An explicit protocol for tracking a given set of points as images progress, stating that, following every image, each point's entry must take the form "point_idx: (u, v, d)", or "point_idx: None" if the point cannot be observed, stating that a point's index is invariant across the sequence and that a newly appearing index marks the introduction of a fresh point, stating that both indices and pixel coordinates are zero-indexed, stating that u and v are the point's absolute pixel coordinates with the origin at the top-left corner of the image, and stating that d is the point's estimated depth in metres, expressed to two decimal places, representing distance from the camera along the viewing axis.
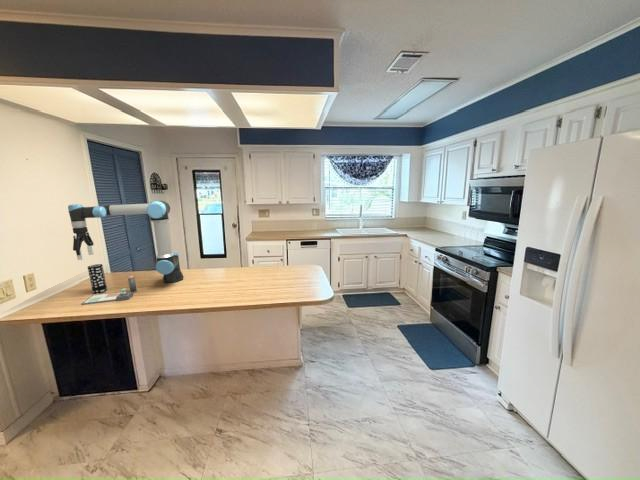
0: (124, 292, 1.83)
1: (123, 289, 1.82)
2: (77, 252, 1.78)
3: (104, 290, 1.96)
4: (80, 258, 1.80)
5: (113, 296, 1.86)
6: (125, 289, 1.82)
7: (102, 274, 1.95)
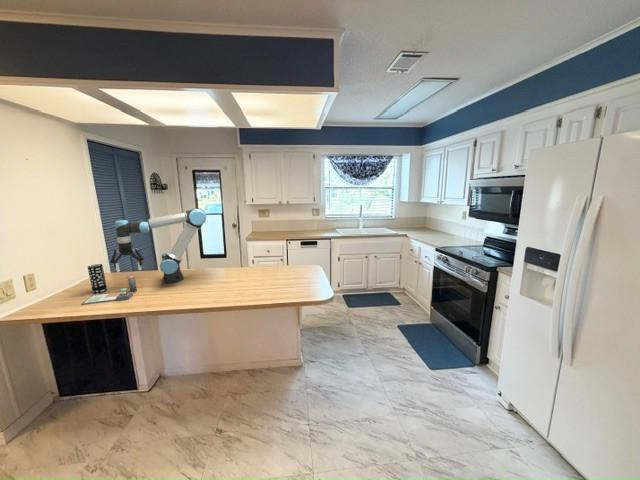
0: (124, 292, 1.83)
1: (123, 289, 1.82)
2: None
3: (104, 290, 1.96)
4: None
5: (113, 296, 1.86)
6: (125, 289, 1.82)
7: (102, 274, 1.95)
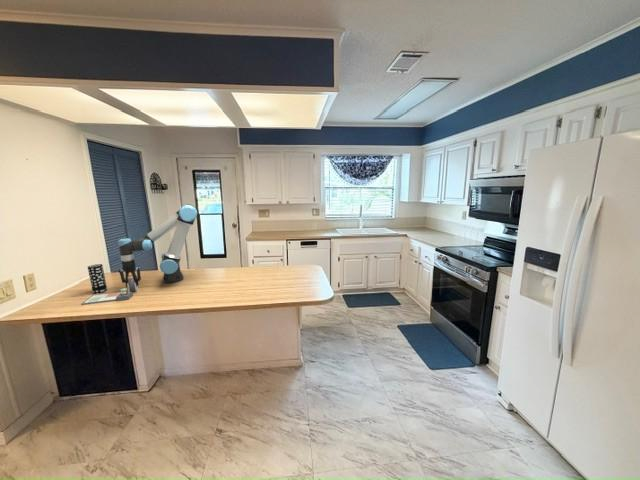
0: (124, 292, 1.83)
1: (123, 289, 1.82)
2: None
3: (104, 290, 1.96)
4: None
5: (113, 296, 1.86)
6: (125, 289, 1.82)
7: (102, 274, 1.95)
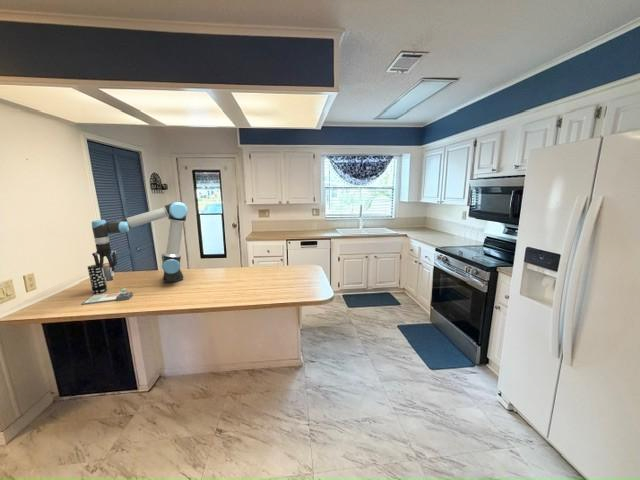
0: (124, 292, 1.83)
1: (123, 289, 1.82)
2: None
3: (104, 290, 1.96)
4: None
5: (113, 296, 1.86)
6: (125, 289, 1.82)
7: (102, 274, 1.95)
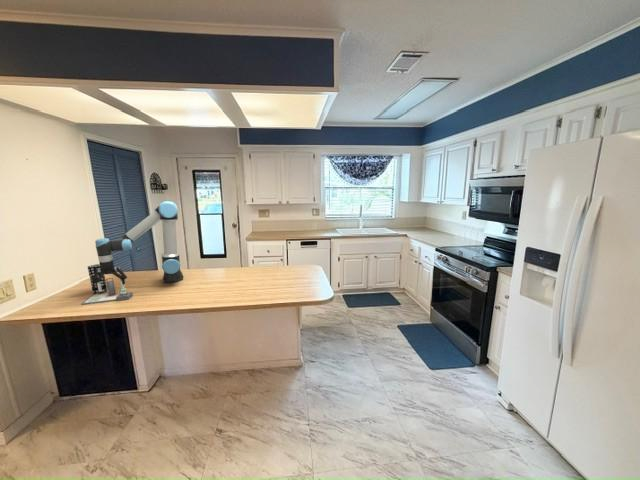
0: (124, 292, 1.83)
1: (123, 289, 1.82)
2: None
3: (104, 290, 1.96)
4: None
5: (113, 296, 1.86)
6: (125, 289, 1.82)
7: None
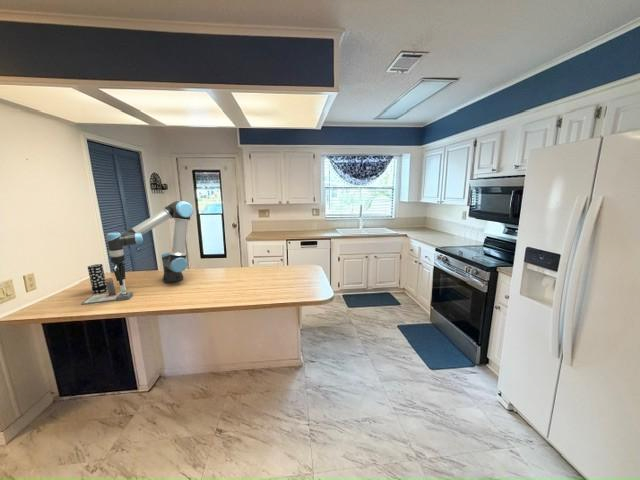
0: (124, 292, 1.83)
1: (123, 289, 1.82)
2: (120, 282, 1.80)
3: (104, 290, 1.96)
4: (122, 288, 1.82)
5: (113, 296, 1.86)
6: (125, 289, 1.82)
7: (102, 274, 1.95)
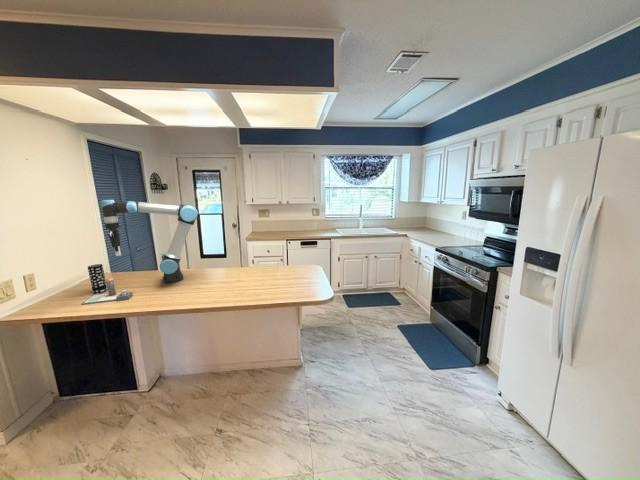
0: (124, 293, 1.83)
1: (123, 290, 1.82)
2: (115, 248, 1.86)
3: (104, 290, 1.96)
4: (118, 254, 1.88)
5: (113, 296, 1.86)
6: (125, 290, 1.83)
7: (102, 274, 1.95)
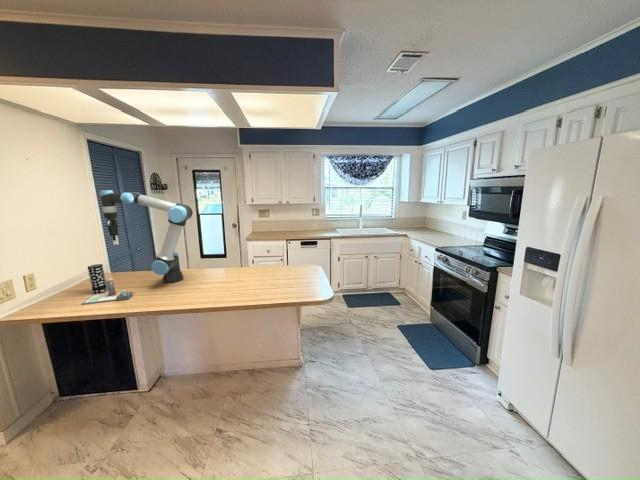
0: (124, 293, 1.83)
1: (123, 290, 1.82)
2: (113, 237, 1.92)
3: (104, 290, 1.96)
4: (116, 243, 1.94)
5: (113, 296, 1.86)
6: (125, 290, 1.83)
7: (102, 274, 1.95)
